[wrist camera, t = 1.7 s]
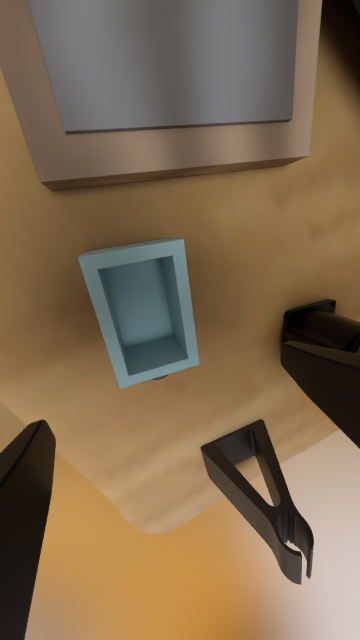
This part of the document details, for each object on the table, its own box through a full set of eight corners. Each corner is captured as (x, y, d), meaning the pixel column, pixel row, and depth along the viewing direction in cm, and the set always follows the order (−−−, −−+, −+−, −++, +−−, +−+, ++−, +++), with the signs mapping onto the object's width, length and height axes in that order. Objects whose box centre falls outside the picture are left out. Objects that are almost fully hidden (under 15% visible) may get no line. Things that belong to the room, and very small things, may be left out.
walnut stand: (297, -156, 12) (350, -266, 9) (283, 166, 18) (314, 153, 15) (-97, -261, 8) (-196, -498, 6) (51, 190, 14) (38, 180, 12)
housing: (164, 238, 17) (183, 239, 13) (182, 347, 21) (201, 377, 17) (86, 251, 16) (77, 257, 12) (120, 364, 20) (124, 401, 16)
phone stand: (207, 474, 30) (262, 609, 19) (200, 446, 27) (258, 582, 17) (264, 447, 31) (344, 557, 21) (262, 418, 29) (351, 526, 18)
